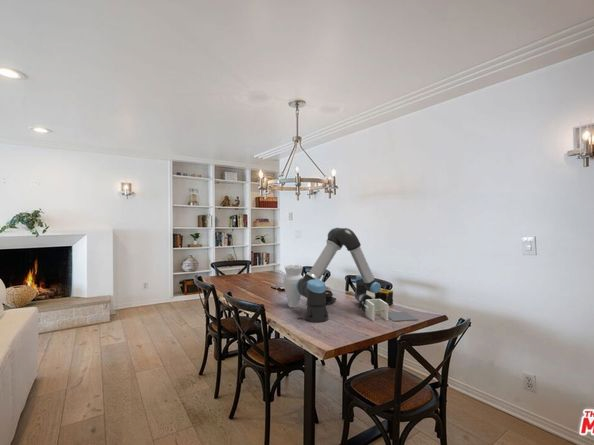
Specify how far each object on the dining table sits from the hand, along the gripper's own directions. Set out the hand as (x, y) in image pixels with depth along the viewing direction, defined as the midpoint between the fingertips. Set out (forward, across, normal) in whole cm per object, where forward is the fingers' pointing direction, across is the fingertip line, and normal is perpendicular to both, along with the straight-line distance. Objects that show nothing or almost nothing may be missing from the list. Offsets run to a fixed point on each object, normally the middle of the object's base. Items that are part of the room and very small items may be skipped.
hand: (378, 309), depth 187 cm
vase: (-36, +49, -6) cm, 61 cm away
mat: (-1, -15, -6) cm, 16 cm away
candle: (-30, -17, -6) cm, 35 cm away
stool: (-2, 0, -6) cm, 6 cm away
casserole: (-42, +27, -6) cm, 50 cm away
